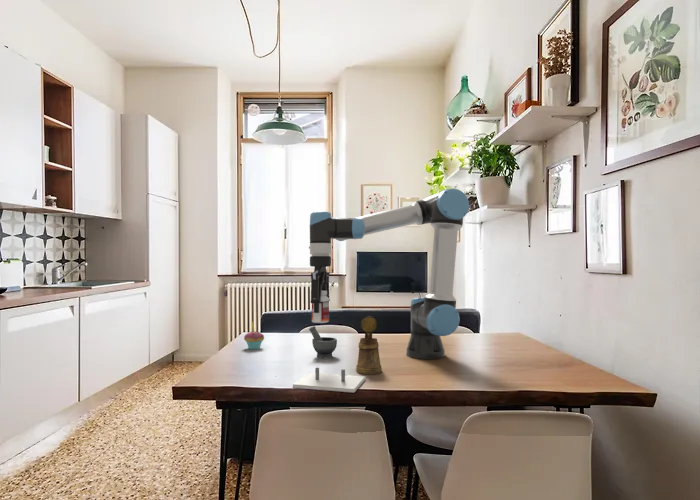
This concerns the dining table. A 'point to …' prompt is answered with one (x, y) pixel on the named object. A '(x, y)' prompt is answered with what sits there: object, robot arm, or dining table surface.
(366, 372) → the brown ball-topped piece
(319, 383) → the pin tray
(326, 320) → the pill bottle
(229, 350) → the dining table surface
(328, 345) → the mortar and pestle
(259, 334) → the cupcake
